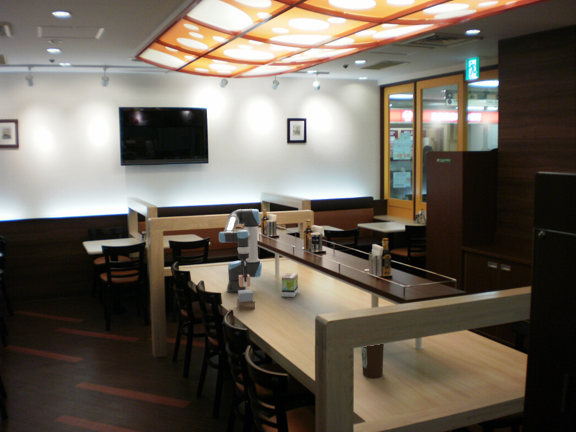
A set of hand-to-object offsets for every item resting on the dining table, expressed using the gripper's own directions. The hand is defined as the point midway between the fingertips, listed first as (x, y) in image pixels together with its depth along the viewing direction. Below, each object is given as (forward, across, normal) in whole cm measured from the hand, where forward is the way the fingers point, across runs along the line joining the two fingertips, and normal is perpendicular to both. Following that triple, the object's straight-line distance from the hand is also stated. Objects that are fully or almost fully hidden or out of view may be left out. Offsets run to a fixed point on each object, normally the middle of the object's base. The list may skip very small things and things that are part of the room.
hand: (244, 284), depth 361 cm
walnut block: (+17, 0, 0) cm, 17 cm away
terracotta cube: (0, 0, 0) cm, 0 cm away
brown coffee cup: (+17, +130, +42) cm, 138 cm away
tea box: (+16, -25, +38) cm, 48 cm away
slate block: (+11, 0, 0) cm, 11 cm away
